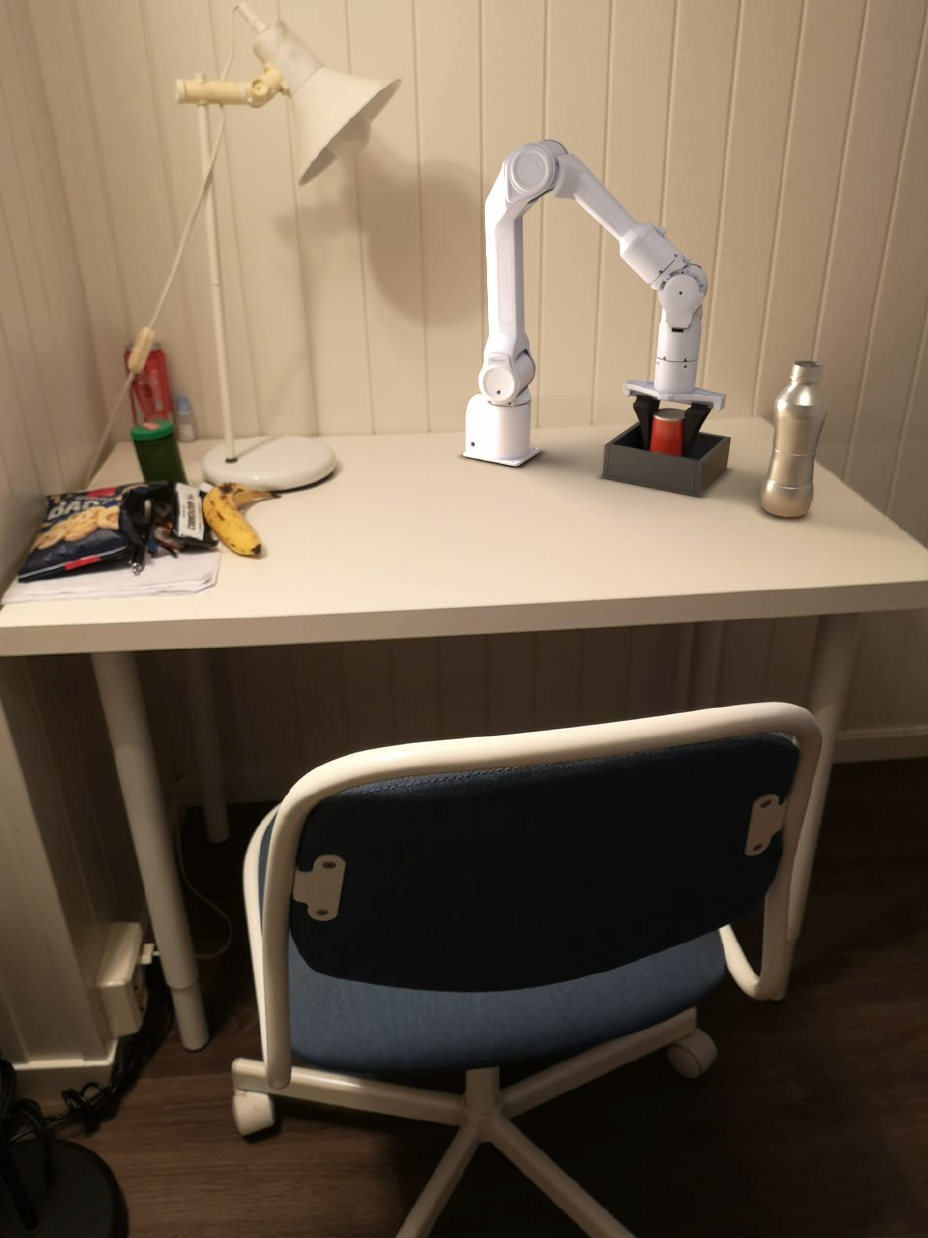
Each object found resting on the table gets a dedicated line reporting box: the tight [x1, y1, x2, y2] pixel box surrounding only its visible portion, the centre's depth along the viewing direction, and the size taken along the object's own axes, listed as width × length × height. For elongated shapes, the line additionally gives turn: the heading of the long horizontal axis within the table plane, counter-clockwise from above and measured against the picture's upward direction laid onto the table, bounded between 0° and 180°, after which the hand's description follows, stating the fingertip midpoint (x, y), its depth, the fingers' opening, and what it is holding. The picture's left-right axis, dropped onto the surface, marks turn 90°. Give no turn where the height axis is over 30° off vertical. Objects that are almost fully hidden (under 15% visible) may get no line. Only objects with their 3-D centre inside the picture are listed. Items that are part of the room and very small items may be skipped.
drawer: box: [601, 421, 732, 498], centre depth 143 cm, size 15×13×5 cm
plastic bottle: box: [760, 359, 829, 518], centre depth 126 cm, size 6×7×20 cm
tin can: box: [650, 407, 686, 457], centre depth 142 cm, size 5×5×8 cm
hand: (667, 450), depth 142 cm, fingers closed on tin can, 5 cm apart
